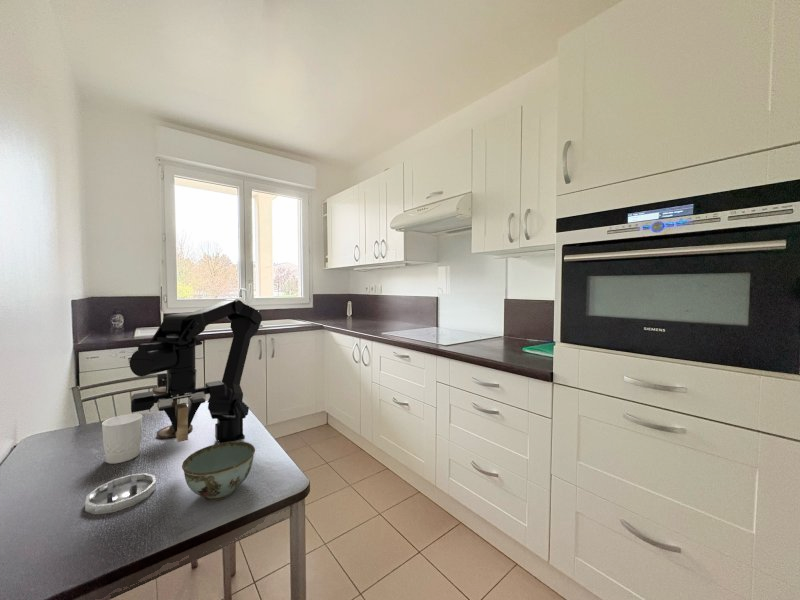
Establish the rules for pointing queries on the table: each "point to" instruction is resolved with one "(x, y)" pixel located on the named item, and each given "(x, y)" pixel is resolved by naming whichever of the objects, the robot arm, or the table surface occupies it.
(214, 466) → the bowl
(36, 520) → the table surface
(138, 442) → the white cup
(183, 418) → the wooden plank
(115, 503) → the tin
